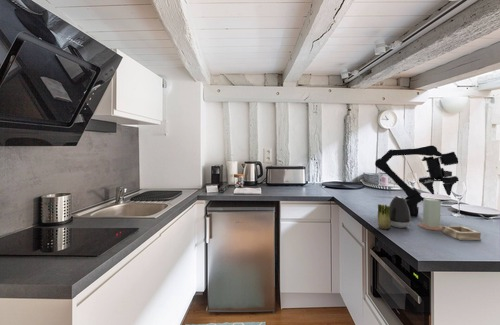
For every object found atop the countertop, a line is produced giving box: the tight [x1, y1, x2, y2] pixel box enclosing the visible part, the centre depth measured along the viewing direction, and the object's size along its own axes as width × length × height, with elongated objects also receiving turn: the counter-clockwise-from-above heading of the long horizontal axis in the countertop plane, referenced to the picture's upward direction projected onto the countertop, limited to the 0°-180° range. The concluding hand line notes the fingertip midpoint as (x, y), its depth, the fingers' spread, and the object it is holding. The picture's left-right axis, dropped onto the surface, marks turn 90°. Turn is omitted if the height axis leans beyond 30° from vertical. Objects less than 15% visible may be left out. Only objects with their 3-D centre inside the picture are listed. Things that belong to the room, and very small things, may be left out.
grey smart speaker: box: [388, 195, 412, 229], centre depth 117 cm, size 10×10×15 cm
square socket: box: [441, 225, 482, 241], centre depth 104 cm, size 9×9×3 cm
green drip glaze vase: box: [377, 203, 391, 230], centre depth 114 cm, size 6×5×12 cm
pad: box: [418, 221, 443, 232], centre depth 115 cm, size 10×10×1 cm
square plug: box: [422, 198, 442, 227], centre depth 115 cm, size 5×5×13 cm
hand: (440, 194), depth 129 cm, fingers open, 9 cm apart
